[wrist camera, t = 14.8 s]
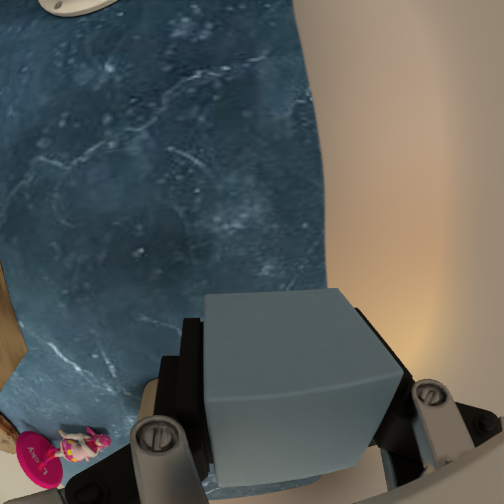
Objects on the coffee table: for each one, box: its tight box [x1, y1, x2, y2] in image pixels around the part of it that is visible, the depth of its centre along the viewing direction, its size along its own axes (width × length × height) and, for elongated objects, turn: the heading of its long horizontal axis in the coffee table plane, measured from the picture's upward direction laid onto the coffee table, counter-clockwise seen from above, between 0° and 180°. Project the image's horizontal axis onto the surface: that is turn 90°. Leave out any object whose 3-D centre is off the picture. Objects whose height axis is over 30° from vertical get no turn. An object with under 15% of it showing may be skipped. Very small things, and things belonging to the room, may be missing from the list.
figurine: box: [16, 427, 111, 489], centre depth 27 cm, size 10×10×15 cm
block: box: [204, 288, 403, 487], centre depth 8 cm, size 4×4×4 cm
